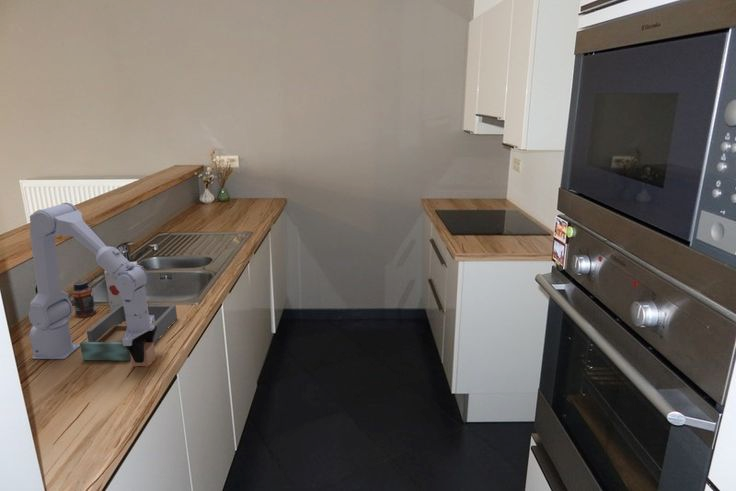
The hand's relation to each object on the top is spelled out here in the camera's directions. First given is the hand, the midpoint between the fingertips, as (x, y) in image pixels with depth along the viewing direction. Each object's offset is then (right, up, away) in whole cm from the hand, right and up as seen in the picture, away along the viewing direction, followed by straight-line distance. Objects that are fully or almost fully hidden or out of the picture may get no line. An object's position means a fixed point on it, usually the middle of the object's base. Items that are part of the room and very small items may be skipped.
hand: (143, 357), depth 143 cm
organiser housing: (-10, +4, +18) cm, 21 cm away
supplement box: (-21, +9, +37) cm, 44 cm away
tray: (-11, +1, +10) cm, 14 cm away
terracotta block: (0, -2, +1) cm, 2 cm away
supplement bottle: (-33, +7, +32) cm, 46 cm away
